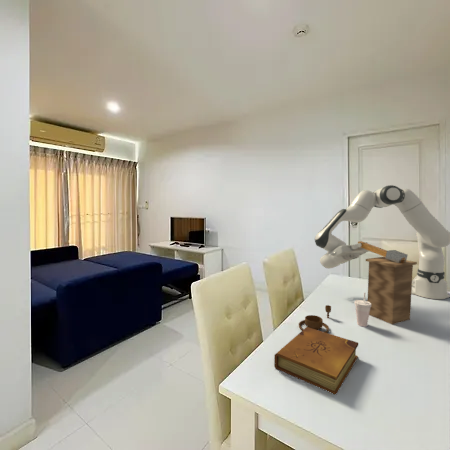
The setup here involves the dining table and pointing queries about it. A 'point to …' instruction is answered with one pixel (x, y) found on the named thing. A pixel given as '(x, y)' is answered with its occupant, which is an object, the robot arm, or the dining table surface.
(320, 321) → the place setting
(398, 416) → the dining table surface
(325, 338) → the diary
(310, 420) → the dining table surface
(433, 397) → the dining table surface
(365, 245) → the mallet
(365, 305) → the smoothie
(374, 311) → the stand
